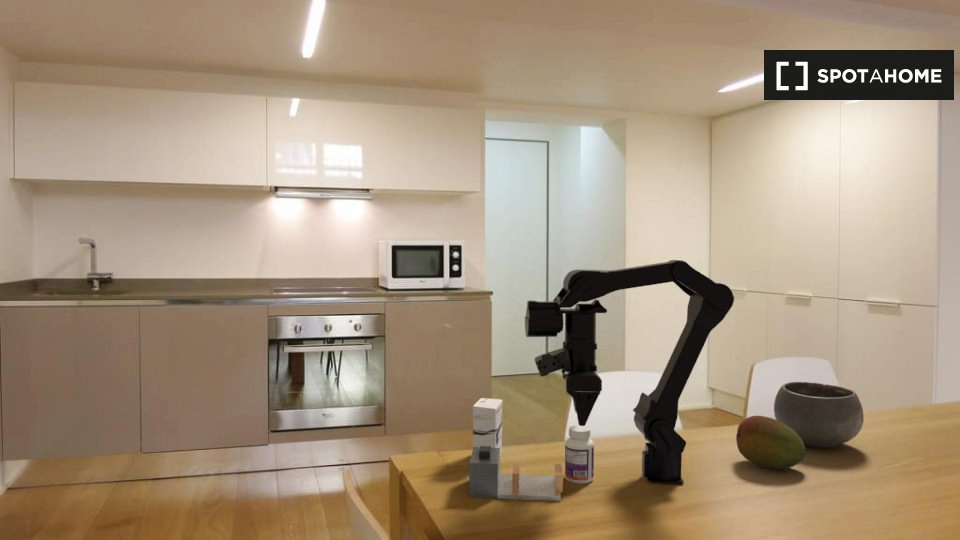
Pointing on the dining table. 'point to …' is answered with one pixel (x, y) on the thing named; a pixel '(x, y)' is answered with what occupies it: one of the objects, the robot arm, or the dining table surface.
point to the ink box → (487, 423)
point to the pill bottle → (579, 455)
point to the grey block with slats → (509, 479)
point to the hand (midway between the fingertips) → (579, 418)
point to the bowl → (819, 412)
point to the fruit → (769, 443)
